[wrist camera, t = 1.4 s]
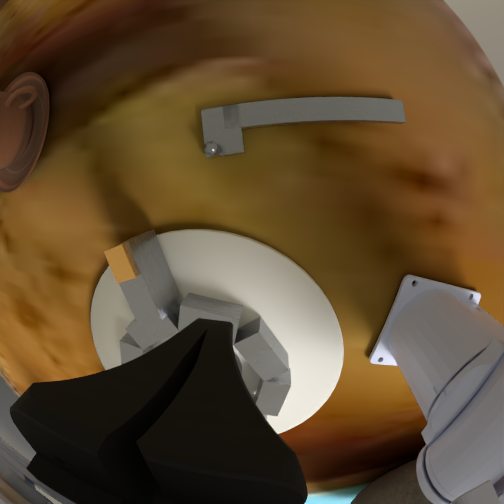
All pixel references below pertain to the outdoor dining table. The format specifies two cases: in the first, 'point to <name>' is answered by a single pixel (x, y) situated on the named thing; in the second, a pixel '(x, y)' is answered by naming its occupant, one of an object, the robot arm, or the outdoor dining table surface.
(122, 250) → the grey block crown
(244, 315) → the white round disc
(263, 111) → the pin spanner
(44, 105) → the cup and saucer
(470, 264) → the outdoor dining table surface
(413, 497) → the clay pot
